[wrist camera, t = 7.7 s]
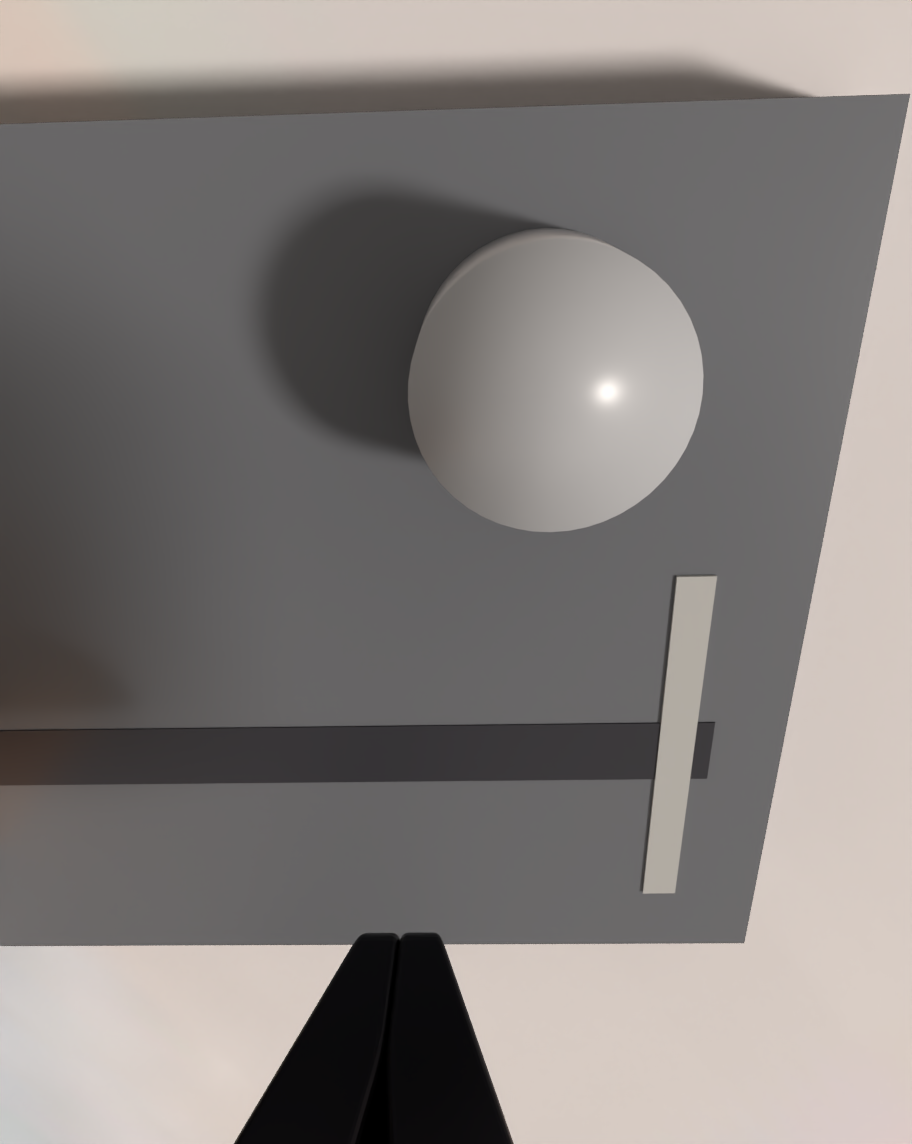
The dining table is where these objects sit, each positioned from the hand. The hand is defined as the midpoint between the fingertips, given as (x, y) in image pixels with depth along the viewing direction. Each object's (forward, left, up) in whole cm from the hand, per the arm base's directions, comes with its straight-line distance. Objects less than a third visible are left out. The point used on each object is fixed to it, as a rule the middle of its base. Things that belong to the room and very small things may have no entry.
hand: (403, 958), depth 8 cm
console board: (+2, +4, -5) cm, 7 cm away
